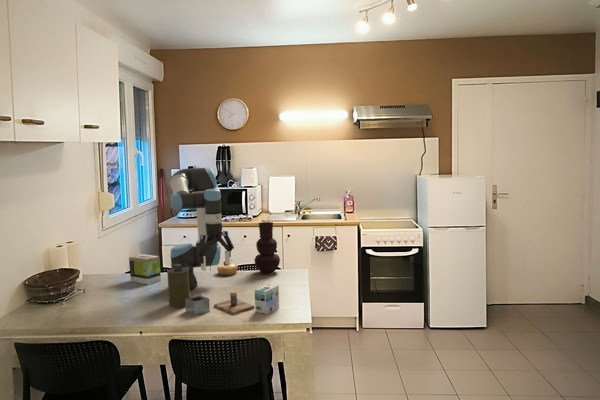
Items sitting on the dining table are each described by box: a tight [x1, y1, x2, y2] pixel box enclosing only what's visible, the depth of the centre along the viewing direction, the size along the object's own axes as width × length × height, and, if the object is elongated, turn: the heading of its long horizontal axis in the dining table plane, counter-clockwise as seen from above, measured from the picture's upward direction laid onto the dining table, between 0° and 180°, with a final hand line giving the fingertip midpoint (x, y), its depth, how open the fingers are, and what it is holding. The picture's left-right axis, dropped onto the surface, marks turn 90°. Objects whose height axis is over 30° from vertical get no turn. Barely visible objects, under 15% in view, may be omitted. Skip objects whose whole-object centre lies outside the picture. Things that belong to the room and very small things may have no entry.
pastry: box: [216, 259, 239, 276], centre depth 300 cm, size 12×12×9 cm
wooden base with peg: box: [213, 291, 255, 315], centre depth 238 cm, size 16×12×7 cm
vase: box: [253, 221, 281, 275], centre depth 298 cm, size 15×15×30 cm
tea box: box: [128, 253, 162, 286], centre depth 287 cm, size 15×10×15 cm
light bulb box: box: [254, 283, 280, 315], centre depth 234 cm, size 11×7×11 cm, turn 148°
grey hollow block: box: [184, 294, 211, 316], centre depth 234 cm, size 8×8×6 cm
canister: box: [166, 264, 191, 309], centre depth 244 cm, size 11×10×20 cm
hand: (215, 267), depth 236 cm, fingers open, 13 cm apart
